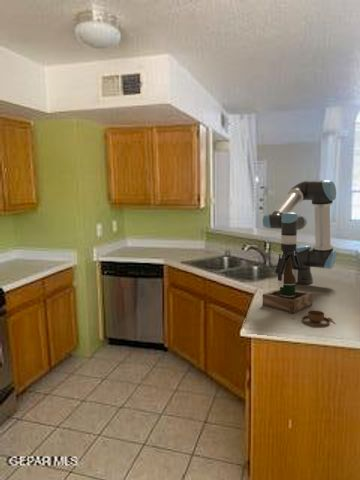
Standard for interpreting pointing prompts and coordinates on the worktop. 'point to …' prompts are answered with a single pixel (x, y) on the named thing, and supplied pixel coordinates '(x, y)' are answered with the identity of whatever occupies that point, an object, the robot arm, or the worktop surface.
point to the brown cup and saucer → (313, 317)
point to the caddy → (281, 303)
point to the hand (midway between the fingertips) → (287, 284)
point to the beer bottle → (288, 282)
